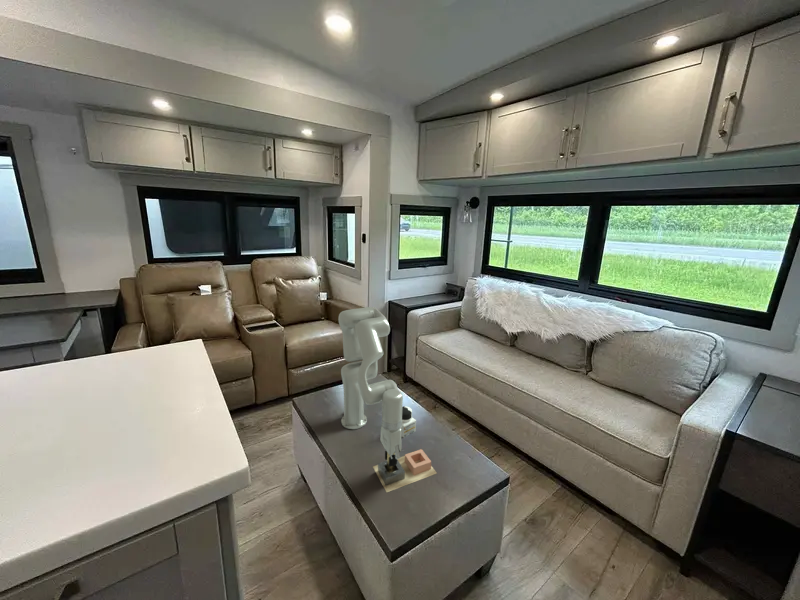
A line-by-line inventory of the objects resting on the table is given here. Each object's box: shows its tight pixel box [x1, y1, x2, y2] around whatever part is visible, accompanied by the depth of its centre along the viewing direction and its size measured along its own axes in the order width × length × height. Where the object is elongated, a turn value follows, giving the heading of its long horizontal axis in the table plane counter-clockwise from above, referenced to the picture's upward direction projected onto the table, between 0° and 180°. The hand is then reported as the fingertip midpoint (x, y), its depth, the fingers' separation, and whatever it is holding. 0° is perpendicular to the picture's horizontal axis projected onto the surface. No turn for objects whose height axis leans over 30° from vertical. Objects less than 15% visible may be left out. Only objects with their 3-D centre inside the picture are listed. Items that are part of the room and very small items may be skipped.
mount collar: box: [377, 460, 405, 485], centre depth 130 cm, size 8×8×4 cm
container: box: [401, 405, 417, 439], centre depth 155 cm, size 8×8×13 cm
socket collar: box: [404, 448, 432, 475], centre depth 135 cm, size 8×8×4 cm
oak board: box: [372, 455, 438, 493], centre depth 133 cm, size 14×22×2 cm, turn 116°
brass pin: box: [386, 453, 395, 472], centre depth 129 cm, size 3×3×9 cm
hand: (390, 461), depth 129 cm, fingers closed on brass pin, 3 cm apart
